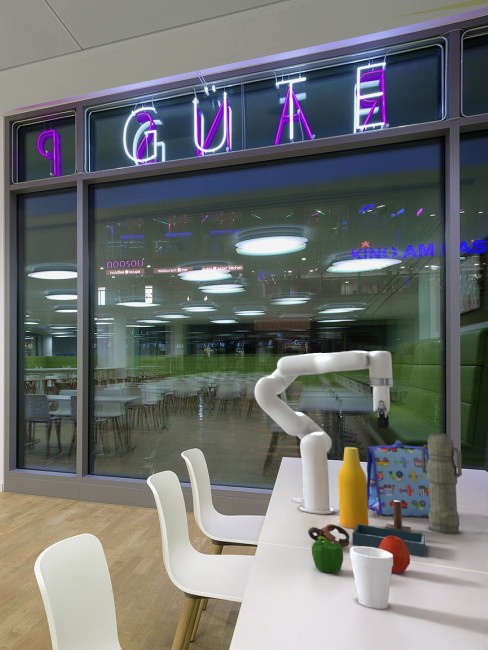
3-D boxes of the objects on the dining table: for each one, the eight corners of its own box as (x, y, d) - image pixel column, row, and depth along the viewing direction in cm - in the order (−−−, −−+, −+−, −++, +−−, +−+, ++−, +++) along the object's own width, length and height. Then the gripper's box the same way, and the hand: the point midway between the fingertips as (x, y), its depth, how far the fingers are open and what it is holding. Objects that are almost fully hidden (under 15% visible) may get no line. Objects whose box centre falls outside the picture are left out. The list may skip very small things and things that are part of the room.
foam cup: (353, 593, 161) (351, 544, 162) (394, 601, 156) (392, 550, 157) (350, 605, 153) (348, 553, 154) (394, 614, 148) (392, 560, 149)
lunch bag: (421, 509, 248) (418, 439, 250) (440, 518, 234) (437, 444, 236) (364, 507, 252) (361, 438, 253) (379, 515, 238) (376, 442, 240)
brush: (385, 537, 211) (384, 501, 211) (386, 533, 215) (385, 498, 216) (410, 540, 206) (409, 504, 207) (411, 537, 210) (409, 501, 211)
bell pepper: (338, 566, 181) (337, 533, 182) (348, 576, 173) (346, 541, 174) (307, 564, 183) (306, 531, 184) (316, 574, 175) (315, 539, 176)
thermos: (463, 536, 211) (458, 436, 213) (422, 529, 220) (418, 433, 222) (466, 531, 218) (462, 434, 220) (427, 524, 226) (422, 431, 228)
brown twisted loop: (339, 544, 204) (348, 526, 201) (345, 564, 196) (355, 546, 192) (302, 532, 207) (310, 515, 203) (306, 552, 199) (316, 534, 195)
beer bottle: (336, 522, 229) (333, 445, 231) (362, 523, 227) (359, 446, 229) (345, 529, 220) (342, 449, 222) (373, 530, 218) (369, 450, 220)
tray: (352, 545, 202) (352, 532, 202) (357, 535, 213) (356, 523, 213) (424, 556, 190) (424, 544, 190) (425, 546, 201) (425, 533, 201)
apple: (417, 577, 173) (415, 539, 173) (385, 575, 174) (384, 538, 175) (402, 567, 181) (401, 531, 181) (372, 565, 182) (371, 529, 183)
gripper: (371, 381, 243) (373, 424, 242) (368, 383, 229) (370, 428, 228) (393, 382, 239) (395, 425, 238) (391, 383, 225) (394, 429, 224)
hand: (383, 426), depth 233 cm, fingers open, 9 cm apart
